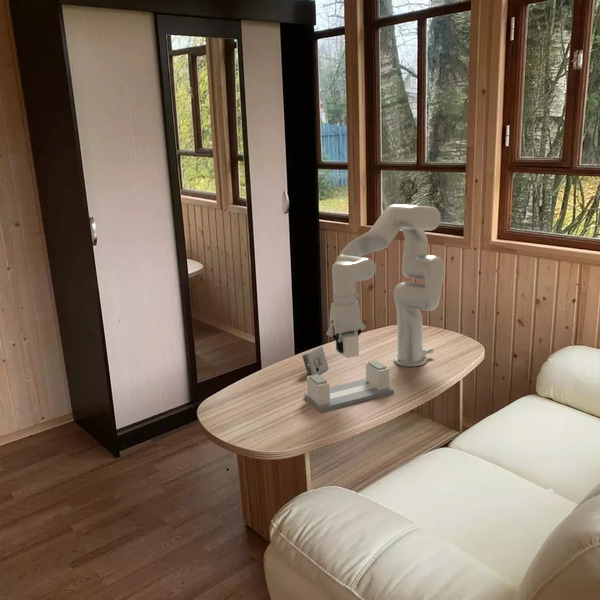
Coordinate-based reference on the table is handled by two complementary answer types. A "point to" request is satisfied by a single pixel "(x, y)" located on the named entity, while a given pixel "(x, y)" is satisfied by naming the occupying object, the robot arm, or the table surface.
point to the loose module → (349, 345)
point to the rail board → (350, 394)
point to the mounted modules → (374, 375)
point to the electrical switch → (315, 361)
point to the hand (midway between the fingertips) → (347, 349)
